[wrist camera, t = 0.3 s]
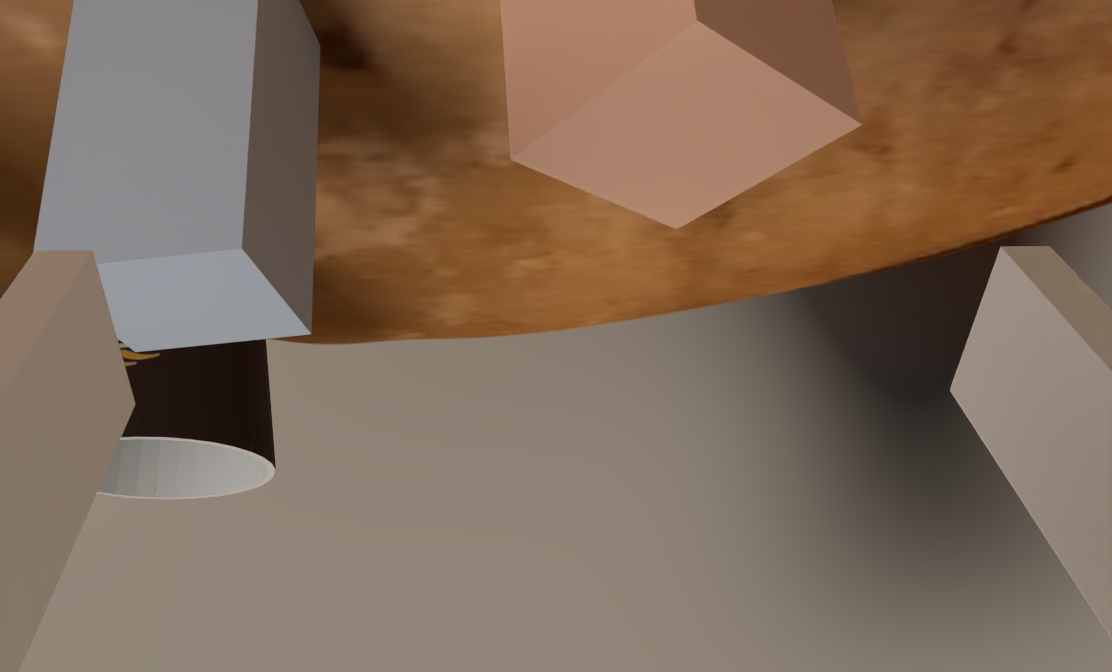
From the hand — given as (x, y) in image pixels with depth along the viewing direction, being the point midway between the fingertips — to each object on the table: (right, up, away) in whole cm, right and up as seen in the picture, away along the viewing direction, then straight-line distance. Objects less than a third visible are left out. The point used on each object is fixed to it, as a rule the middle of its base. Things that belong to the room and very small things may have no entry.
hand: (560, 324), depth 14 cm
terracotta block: (+2, +13, +9) cm, 16 cm away
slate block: (-10, +10, +14) cm, 20 cm away
